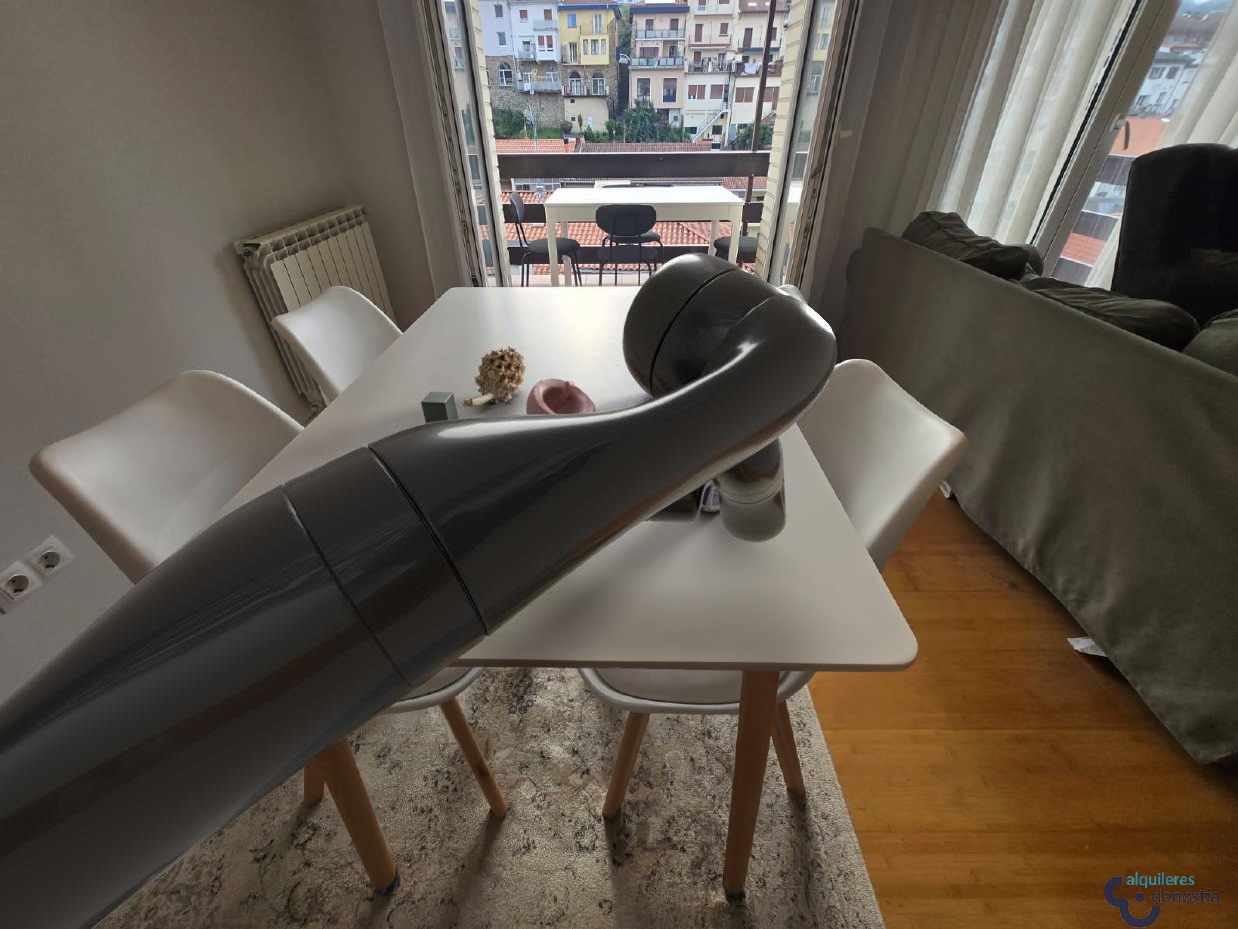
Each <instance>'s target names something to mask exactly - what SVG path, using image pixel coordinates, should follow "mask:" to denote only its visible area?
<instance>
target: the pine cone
mask: <svg viewBox="0 0 1238 929" xmlns="http://www.w3.org/2000/svg"><path fill="white" fill-rule="evenodd" d="M480 359H481V364H480V365H479V366H478V372H479V374H478V375H477V376H474V381H475V382H474V383H475V384H476V385H477V386H478V387H479V389H477V392H478V393H481V396H480V397H476V398H465V399H464V400H462V402H461V404H462V407H467V408H469V407H470V408H472V407H477V406H481V405H483V404H485V403H487V402H489V401H490V402H492V403H493V404H494V403H496V404H498V403H499V401H503V402H506V403H507V402H508V401H510V400H512V395H516V394H518V391H519V389H520V387H519V386H521V385H522V384H523V382H524V381H525V380H524V378H523V375H524V374H526V366H525V362H524V361H525V357H524V356H523V355H521V353H520V352H518V351H516V348H513V347H510V346H507V348H506V349H504V350H503V347H501V348H497V350H494V349H491V350H490V353H488V352H486V354H484V356H482V357H480Z"/></svg>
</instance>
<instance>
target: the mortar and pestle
mask: <svg viewBox="0 0 1238 929" xmlns="http://www.w3.org/2000/svg"><path fill="white" fill-rule="evenodd" d="M525 406H526V407H525V410H526V411H525V412H526V415H550V414H578V413H591V412H596V405H595V403H594V401H593V400H592V399H591V398H590V397H589V396H588V395H587V394H586V392H584V391H583V390H582V389H581V388H579V387H578V386H577V385H575V383H574V381H571V380H570V381H569V380H563V379H559V378H546V379H541V380H539V381H538V382H537V383H535V384H534V386H533V387H532V388H531V390H530V392H529V394H528V396H527V400H526V405H525Z"/></svg>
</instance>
